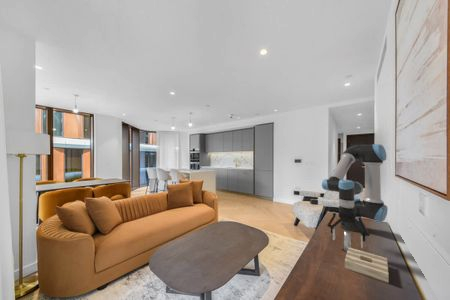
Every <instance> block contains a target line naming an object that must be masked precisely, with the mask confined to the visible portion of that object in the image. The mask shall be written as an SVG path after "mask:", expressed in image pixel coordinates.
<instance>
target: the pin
mask: <svg viewBox="0 0 450 300" xmlns="http://www.w3.org/2000/svg"><path fill="white" fill-rule="evenodd" d="M351 239H352V238H351V232H350V230H344V231H343V251H344V252H345V253H347V251H348V248H352V246H351V245H352V244H351V243H352V241H351Z"/></svg>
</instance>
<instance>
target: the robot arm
mask: <svg viewBox="0 0 450 300" xmlns="http://www.w3.org/2000/svg"><path fill="white" fill-rule="evenodd" d="M386 160H387V152H386V149H385V147H384V145H382V144H379V143H377V144H376V143H375V144H374V143H373V144H372V143H371V144H356V145H352V146H350V147H348V148H347V149H345V150H344V151H343V152H342V154H341V155H340V160H339V162H338V163H337V164H336V166H335V168H334V170H333V171H332V173H331V175H330V176H329V178H326V179H322V180H321V181H322V182H321V187H322V189H323V190H326V191H327V192H328V191H330V192H335V193H338V205H339V206H338V212H339V213H338V212H336V211H334V212H333V213H332V216H331V219H330V220H329V222H328V223H327V224H326V226H327V227H328V228H329V229H330V233H331V234H332V241H335V239H336V226H337V225H338V224H339V227H340V228H342V229H344V230H345V231H349V232H350V231H351V232H357V233H360V247H361V248H362V249H364V243H365V242H366V237H369V236H370V231H368V229H367V227H366V224H364V222H363V220H362V219H363V218H364V219H369V220H372V221H377V222H384V221H385V219H386V217H387V216H388V209H389V208H388V206H387V205H386V204H385V203H384V201H383V200H382V196H381V195H382V194H381V193H382V191H381V188H382V187H381V165H383V162H384V161H386ZM356 161H361V163H362V164H363V165H364V186H363V184H361V183H360V182H358V181H353V180H351V179H344V178H345V176H346V174H347V173H348V171H349V169H350V167H351V166H352V164H353V163H355V162H356ZM363 191H365V192H364V196H365V197H363V198H362V200H361V199H360V197H355V195H359V194H361V193H362V192H363ZM336 217H339V219H338V220H336V221H335V222H334V220H335V218H336ZM333 222H334V223H333ZM332 223H333V224H332ZM361 248H360V249H361Z"/></svg>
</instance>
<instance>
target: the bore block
mask: <svg viewBox="0 0 450 300" xmlns="http://www.w3.org/2000/svg"><path fill="white" fill-rule="evenodd" d="M344 269H347V270H350V271H351V272H352V271H353V272H354V273H358V274H360V275H363V276H366V277H369V278H372V279H375V280H377V281H381V282H383V283H386V284H389V282H390V281H389V265H388V258H387V257H384V256H381V255H377V254H374V253H370V252H367V251H363V250H359V249H355V248H353V247H351V248H348V251H347V252H346V255H345V259H344Z"/></svg>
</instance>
